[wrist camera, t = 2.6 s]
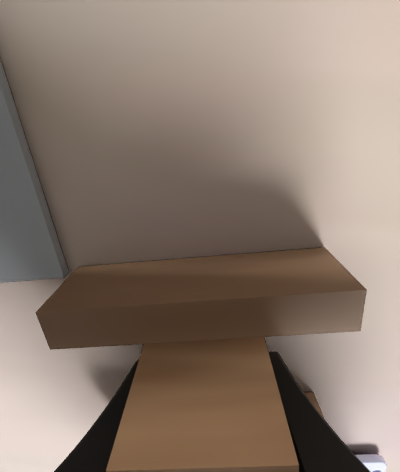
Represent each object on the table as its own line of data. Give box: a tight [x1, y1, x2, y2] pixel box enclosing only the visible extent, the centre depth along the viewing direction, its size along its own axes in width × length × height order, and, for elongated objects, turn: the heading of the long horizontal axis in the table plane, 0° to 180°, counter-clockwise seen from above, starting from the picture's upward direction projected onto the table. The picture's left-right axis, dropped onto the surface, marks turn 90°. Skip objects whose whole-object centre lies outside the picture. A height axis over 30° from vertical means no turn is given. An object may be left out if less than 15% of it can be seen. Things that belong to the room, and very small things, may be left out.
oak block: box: [106, 337, 299, 472], centre depth 10 cm, size 4×4×6 cm
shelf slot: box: [36, 247, 367, 418], centre depth 11 cm, size 10×10×3 cm
